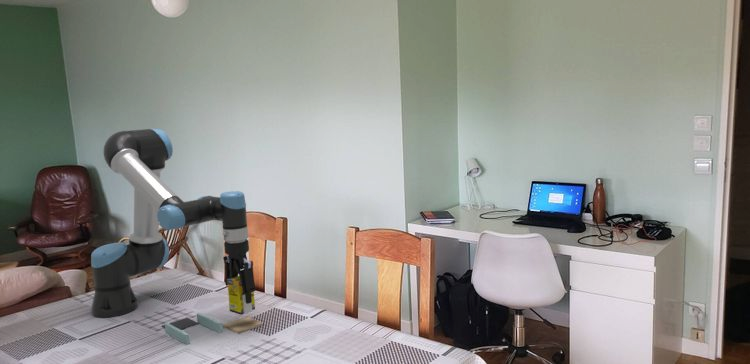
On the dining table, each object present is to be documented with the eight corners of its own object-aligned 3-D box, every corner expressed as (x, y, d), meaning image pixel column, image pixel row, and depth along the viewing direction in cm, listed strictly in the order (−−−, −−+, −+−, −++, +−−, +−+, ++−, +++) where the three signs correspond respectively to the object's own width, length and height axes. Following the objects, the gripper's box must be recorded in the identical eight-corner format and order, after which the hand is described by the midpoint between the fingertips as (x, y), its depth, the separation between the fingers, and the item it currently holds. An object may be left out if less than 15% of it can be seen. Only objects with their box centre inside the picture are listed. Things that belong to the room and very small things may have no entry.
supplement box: (241, 315, 175) (238, 281, 173) (229, 311, 178) (226, 278, 177) (255, 309, 179) (253, 276, 178) (244, 305, 183) (241, 273, 181)
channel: (165, 332, 176) (164, 323, 176) (200, 321, 185) (199, 312, 184) (186, 344, 167) (186, 335, 166) (222, 331, 175) (221, 322, 175)
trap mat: (161, 326, 182) (161, 325, 181) (187, 318, 188) (186, 317, 188) (172, 332, 176) (172, 332, 176) (198, 324, 182) (198, 323, 182)
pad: (223, 326, 179) (223, 324, 179) (247, 318, 186) (246, 316, 186) (238, 333, 173) (238, 331, 173) (262, 324, 180) (262, 322, 180)
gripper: (209, 238, 179) (216, 306, 183) (242, 247, 166) (248, 320, 169) (230, 234, 185) (235, 300, 188) (263, 242, 172) (269, 313, 175)
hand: (241, 309), depth 179 cm, fingers closed on supplement box, 6 cm apart
